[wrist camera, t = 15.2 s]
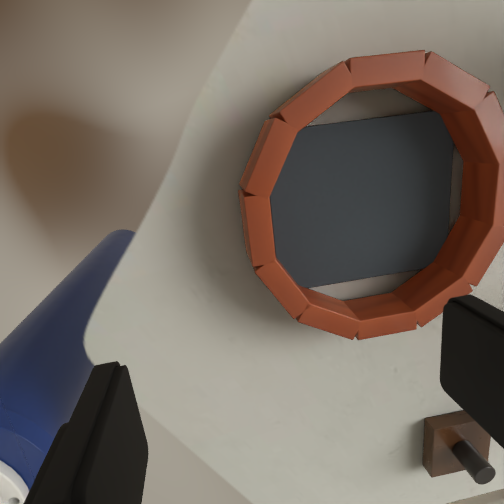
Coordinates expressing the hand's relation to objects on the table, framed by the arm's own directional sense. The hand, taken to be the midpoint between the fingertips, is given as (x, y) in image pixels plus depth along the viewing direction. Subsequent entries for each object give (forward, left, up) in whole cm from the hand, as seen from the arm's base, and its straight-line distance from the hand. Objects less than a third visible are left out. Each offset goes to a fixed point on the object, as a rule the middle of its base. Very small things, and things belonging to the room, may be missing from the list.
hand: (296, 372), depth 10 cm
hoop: (+10, +1, -17) cm, 19 cm away
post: (+19, -24, -17) cm, 35 cm away
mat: (+10, +1, -17) cm, 20 cm away
